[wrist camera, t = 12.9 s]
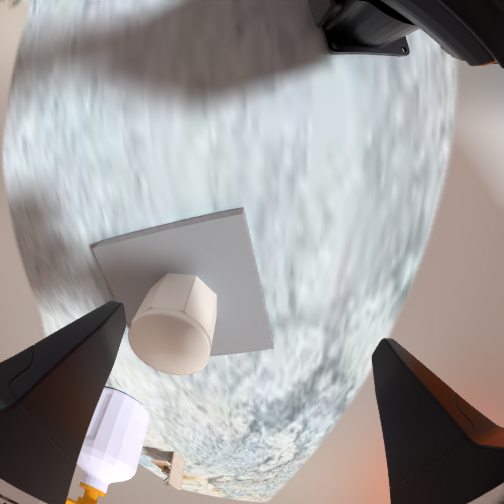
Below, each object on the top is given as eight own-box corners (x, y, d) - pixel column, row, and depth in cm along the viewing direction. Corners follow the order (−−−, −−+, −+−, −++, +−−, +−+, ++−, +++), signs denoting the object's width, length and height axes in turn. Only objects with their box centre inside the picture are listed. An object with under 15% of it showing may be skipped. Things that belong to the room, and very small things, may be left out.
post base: (243, 207, 19) (239, 237, 14) (272, 336, 24) (276, 384, 19) (100, 241, 20) (64, 273, 15) (152, 349, 25) (137, 391, 20)
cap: (186, 338, 22) (173, 383, 17) (138, 297, 20) (114, 339, 16) (232, 308, 20) (227, 355, 16) (181, 259, 19) (160, 299, 14)
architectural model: (169, 458, 40) (164, 488, 33) (155, 444, 37) (148, 478, 30) (185, 460, 40) (181, 491, 33) (172, 446, 37) (166, 481, 30)
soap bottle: (162, 414, 31) (132, 570, 8) (130, 424, 33) (97, 551, 11) (109, 378, 28) (52, 544, 5) (83, 393, 30) (34, 524, 8)
